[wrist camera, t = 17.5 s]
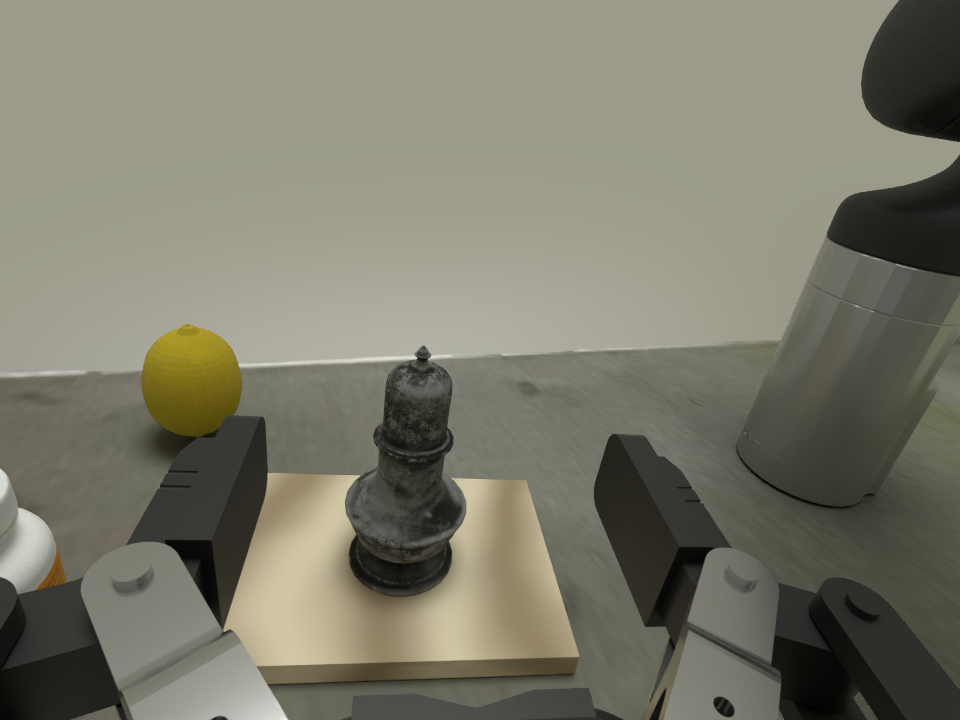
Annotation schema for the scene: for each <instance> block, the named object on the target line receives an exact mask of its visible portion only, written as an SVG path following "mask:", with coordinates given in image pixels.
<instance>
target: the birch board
mask: <svg viewBox="0 0 960 720" xmlns="http://www.w3.org/2000/svg"><path fill="white" fill-rule="evenodd" d="M359 477H360V476H352V475H318V474H285V473H268V479H267V489H266V495H265V499H264V503H263V506H262V509H261V512H260V515H259V518H258V522H257V525H256V528H255V531H254V534H253V537H252V541H251V544H250V547H249V550H248V553H247V556H246V560H245V563H244V566H243V569H242V572H241V575H240V579H239V582H238V585H237V588H236V591H235V594H234V598H233V601H232V604H231V607H230V610H229V614H228V617H227V620H226V623H225V626H224V629H223V631H224V632H226V631H227V630H229V629H231V630H232V631H234V632H235V633H236V635H237V636H238V637H239V639H240V640H241V642H242V643H243V645H244V647H245V648H246V650H247V652H248V653H249V655H250V657H251V658H252V660H253V662H254V663H255V665H256V667H257V668H258V670H259V672H260V673H261V675H262V677H263V678H264V680H265V682H266V683H267V684H291V683H319V682H348V681H376V680H405V679H434V678H462V677H491V676H520V675H548V674H574V671H575V668H576V666H577V663H578V660H579V653H578V650H577V647H576V643H575V640H574V637H573V634H572V630H571V627H570V624H569V620H568V617H567V614H566V610H565V607H564V604H563V601H562V597H561V594H560V591H559V587H558V584H557V581H556V578H555V574H554V571H553V568H552V564H551V561H550V558H549V555H548V551H547V548H546V545H545V541H544V538H543V535H542V531H541V528H540V525H539V522H538V518H537V515H536V512H535V508H534V505H533V502H532V499H531V495H530V492H529V489H528V485H527V482H526V481H521V480H487V479H453V478H451V479H452V480H454V481H455V482H456V484H457V485H458V486H459V487H460V489H461V490H462V491H463V494H464V497H465V499H466V515H465V518H464V520H463V523H462V525H461V526H460V527H459V528H458V530H457V531H456V532H455V533H454V535H453V537H452V538H451V539H450V540H449V543H450V546H451V549H452V564H451V566H450V569H449V572H448V574H447V575H446V576H445V578H444V579H443V580H442V581H441V583H439V584H438V585H436V586H435V587H434V588H432V589H431V590H429V591H426V592H424V593H421V594H418V595H413V596H406V597H397V596H387V595H384V594H381V593H378V592H374V591H373V590H371V589H370V588H368V587H366V586H365V585H363V584H362V583H361V582H360V581H359V580H358V579H357V578H356V577H355V575H354V573H353V571H352V569H351V567H350V564H349V549H350V545H351V542H352V540H353V539H354V537H355V536H356V532H355V531H354V529H353V527H352V524H351V522H350V521H349V519H348V517H347V515H346V509H345V499H346V495H347V491H348V489H349V488H350V486H351V485H352V484H353V482H354V481H355V480H356V479H357V478H359Z"/></svg>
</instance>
